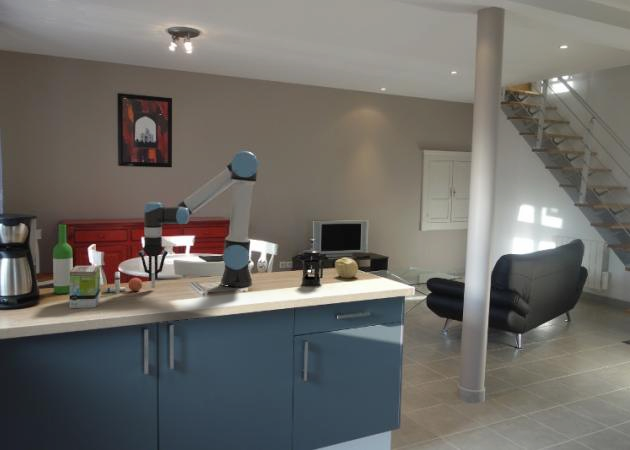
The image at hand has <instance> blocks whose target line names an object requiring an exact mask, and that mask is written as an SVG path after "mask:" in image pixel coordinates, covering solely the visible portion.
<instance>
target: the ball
mask: <svg viewBox="0 0 630 450" xmlns="http://www.w3.org/2000/svg"><path fill="white" fill-rule="evenodd" d="M142 288H143V281H142V280H141V279H140V278H139V277H133V278H131V279H130V280H129V282H128V289H130V291H133V292H138V291H140V290H141V289H142Z"/></svg>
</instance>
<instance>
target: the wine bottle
mask: <svg viewBox="0 0 630 450" xmlns="http://www.w3.org/2000/svg"><path fill="white" fill-rule="evenodd" d="M52 264H53V266H52V272H53V275H52V276H53V277H52V278H53V292H54V293H55V294H57V295H63V294H70V271H71V270H72V269H73V268H74V267H73V265H74V264H73V247H72V246H71V245H70V244H69V243H67V224H58V243H57V244H56V245H55V246H54V248H53V250H52Z"/></svg>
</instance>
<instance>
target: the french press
mask: <svg viewBox="0 0 630 450" xmlns="http://www.w3.org/2000/svg"><path fill="white" fill-rule="evenodd" d="M307 240H308V241H310V243H311V244H314V241H317V239H315V238H308V239H307ZM321 252H322V251H321V250H315V249H306V250H303V251H302V253H303V255H304V256H306V255H308V257H310V258H311V259H303V260H302V277H301V285H302V286H304V287H320V286H321V279H323V275H324V274H323V273H324V261H323V260H318V259H313V258H315V257H317V258H319V257H320V256H321ZM309 266H310V270H309ZM312 266H314V268H313V267H312ZM313 269H314V270H313ZM310 275H311V276H310Z"/></svg>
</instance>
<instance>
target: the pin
mask: <svg viewBox="0 0 630 450" xmlns="http://www.w3.org/2000/svg"><path fill="white" fill-rule="evenodd" d="M114 287H115V292H114V294H115V295H118V294H120V293H121V292H120V287H121V273H120V274H115V273H114Z"/></svg>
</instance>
